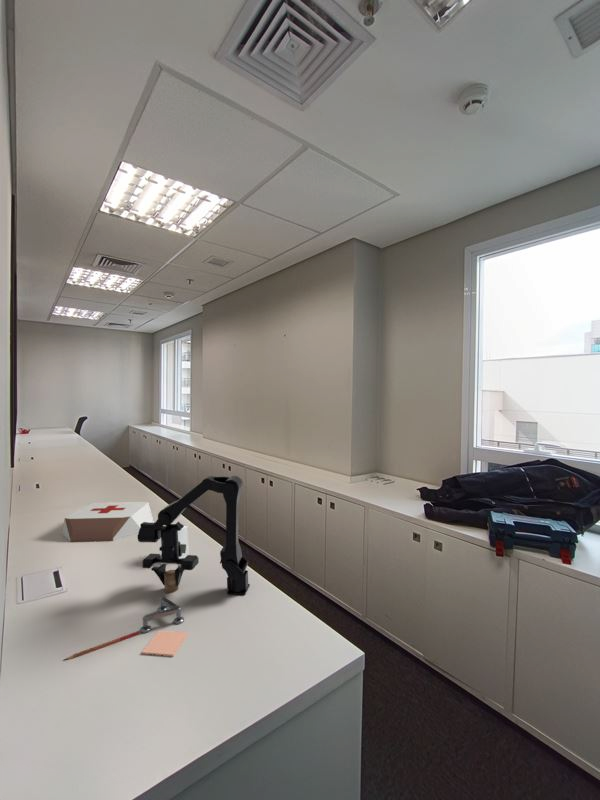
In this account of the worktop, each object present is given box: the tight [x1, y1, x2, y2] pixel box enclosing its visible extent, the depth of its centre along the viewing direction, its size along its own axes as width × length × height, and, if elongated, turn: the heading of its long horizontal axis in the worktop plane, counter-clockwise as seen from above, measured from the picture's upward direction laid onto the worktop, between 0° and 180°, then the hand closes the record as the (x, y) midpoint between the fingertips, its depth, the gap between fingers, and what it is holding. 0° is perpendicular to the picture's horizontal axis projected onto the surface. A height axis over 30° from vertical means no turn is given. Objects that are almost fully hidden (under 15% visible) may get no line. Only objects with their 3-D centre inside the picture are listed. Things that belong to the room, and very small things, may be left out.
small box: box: [178, 525, 190, 559], centre depth 158 cm, size 8×6×13 cm
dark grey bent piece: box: [139, 596, 185, 634], centre depth 116 cm, size 11×13×4 cm
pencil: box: [62, 630, 140, 661], centre depth 105 cm, size 19×1×1 cm, turn 124°
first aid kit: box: [62, 501, 155, 543], centre depth 194 cm, size 34×41×10 cm
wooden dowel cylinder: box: [163, 569, 179, 594], centre depth 133 cm, size 5×5×6 cm
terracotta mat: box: [141, 630, 189, 657], centre depth 105 cm, size 9×9×1 cm
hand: (171, 585), depth 133 cm, fingers closed on wooden dowel cylinder, 5 cm apart
